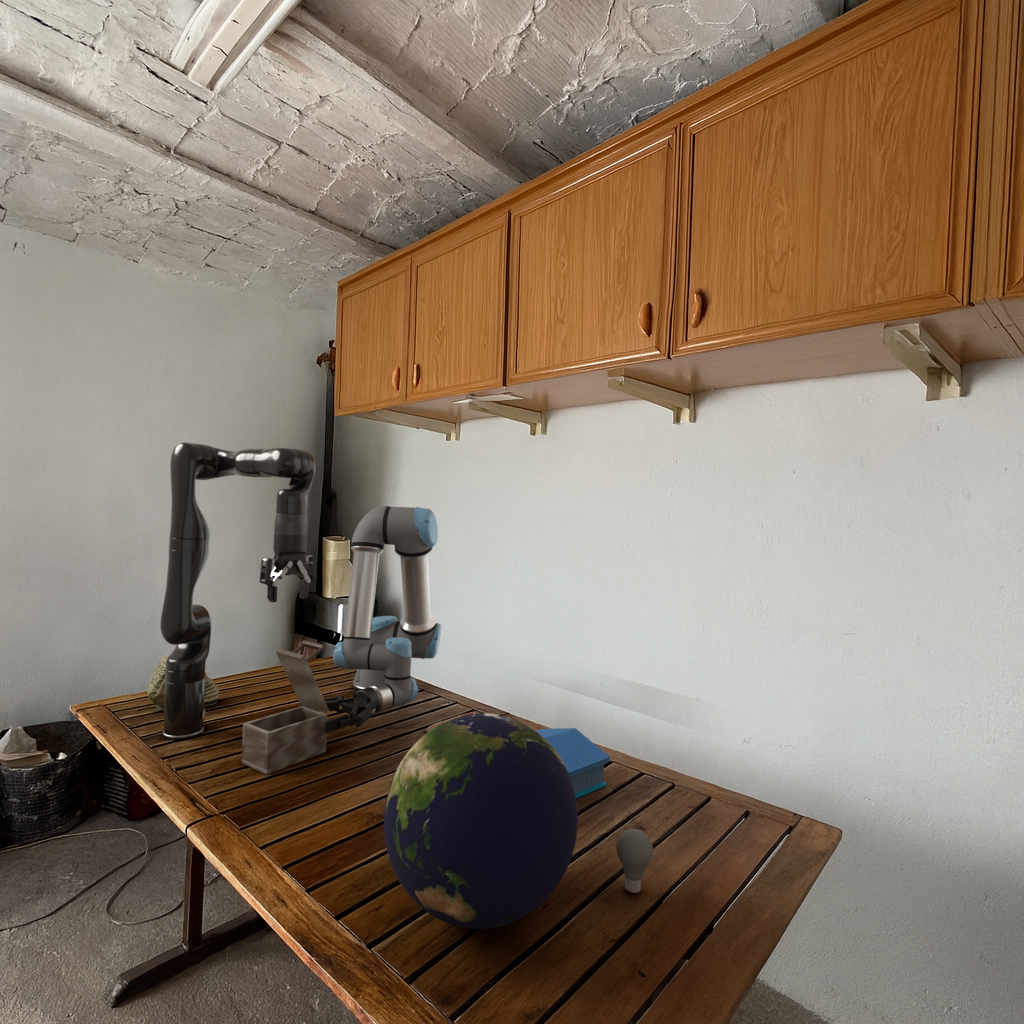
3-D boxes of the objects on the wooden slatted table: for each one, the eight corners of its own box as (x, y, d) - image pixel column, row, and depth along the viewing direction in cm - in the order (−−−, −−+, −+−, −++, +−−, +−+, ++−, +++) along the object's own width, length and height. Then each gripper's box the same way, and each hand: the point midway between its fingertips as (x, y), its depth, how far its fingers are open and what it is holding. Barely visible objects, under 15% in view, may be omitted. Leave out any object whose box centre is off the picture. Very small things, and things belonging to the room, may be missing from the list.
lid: (300, 658, 149) (325, 638, 155) (275, 651, 155) (300, 632, 161) (325, 713, 156) (348, 691, 162) (300, 704, 162) (323, 684, 168)
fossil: (144, 707, 182) (145, 655, 182) (212, 696, 194) (213, 647, 194) (151, 716, 175) (153, 662, 175) (221, 703, 188) (223, 653, 188)
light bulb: (610, 879, 108) (613, 822, 108) (644, 879, 109) (647, 822, 109) (619, 902, 102) (622, 840, 102) (655, 901, 103) (658, 840, 103)
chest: (266, 774, 143) (268, 733, 143) (241, 763, 149) (242, 723, 148) (326, 752, 157) (327, 714, 157) (301, 742, 162) (302, 705, 162)
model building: (485, 848, 116) (487, 795, 116) (411, 798, 134) (413, 751, 134) (618, 790, 143) (620, 746, 142) (541, 754, 161) (543, 715, 161)
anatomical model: (422, 719, 171) (435, 706, 182) (421, 734, 171) (435, 720, 182) (469, 725, 168) (480, 711, 179) (469, 740, 168) (479, 725, 179)
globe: (338, 940, 91) (346, 732, 90) (439, 840, 119) (446, 681, 118) (534, 1012, 80) (544, 775, 79) (594, 883, 107) (603, 707, 107)
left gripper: (274, 534, 143) (271, 605, 143) (325, 532, 155) (322, 599, 155) (254, 532, 147) (252, 601, 148) (305, 531, 159) (302, 595, 159)
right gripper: (404, 724, 169) (341, 748, 151) (341, 704, 183) (277, 723, 165) (405, 696, 168) (342, 717, 151) (342, 678, 183) (278, 695, 165)
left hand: (288, 600), depth 151 cm, fingers open, 8 cm apart
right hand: (308, 720), depth 158 cm, fingers open, 13 cm apart
